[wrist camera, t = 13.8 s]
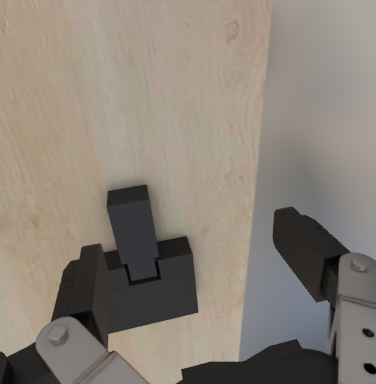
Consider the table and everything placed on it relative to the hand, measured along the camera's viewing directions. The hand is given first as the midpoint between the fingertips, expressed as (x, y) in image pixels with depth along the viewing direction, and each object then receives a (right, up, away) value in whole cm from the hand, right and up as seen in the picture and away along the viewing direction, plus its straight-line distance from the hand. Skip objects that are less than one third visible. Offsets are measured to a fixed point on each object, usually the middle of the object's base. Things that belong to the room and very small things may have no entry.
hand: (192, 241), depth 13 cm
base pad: (-7, -11, +32) cm, 34 cm away
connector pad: (-8, -3, +27) cm, 28 cm away
